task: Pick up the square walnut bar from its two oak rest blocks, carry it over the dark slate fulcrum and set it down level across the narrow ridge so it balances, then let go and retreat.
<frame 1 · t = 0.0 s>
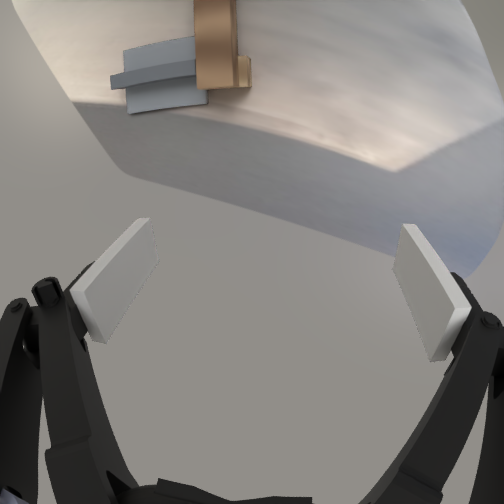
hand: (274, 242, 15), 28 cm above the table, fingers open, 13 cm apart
rest 2: (228, 74, 35), on the table
fulcrum: (165, 74, 36), on the table
walnut bar: (219, 7, 27), point 4 cm above the table, touching rest 2, rest 1
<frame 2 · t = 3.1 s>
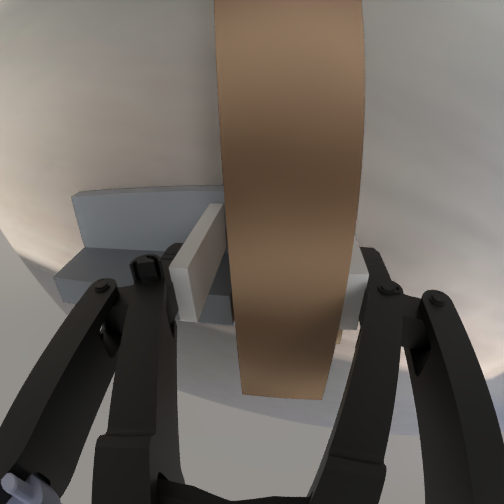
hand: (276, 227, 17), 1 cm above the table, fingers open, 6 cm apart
fulcrum: (161, 256, 21), on the table
walnut bar: (294, 146, 12), point 4 cm above the table, touching gripper, rest 2, rest 1
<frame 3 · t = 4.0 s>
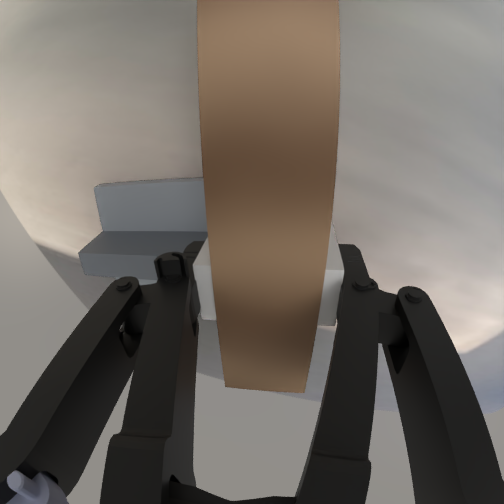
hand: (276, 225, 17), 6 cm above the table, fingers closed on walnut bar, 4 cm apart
fulcrum: (169, 237, 25), on the table
walnut bar: (275, 142, 12), point 9 cm above the table, touching gripper
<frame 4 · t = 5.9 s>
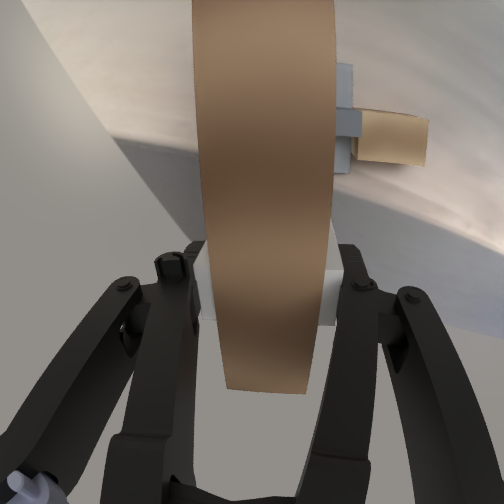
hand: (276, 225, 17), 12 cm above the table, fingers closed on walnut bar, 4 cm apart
rest 2: (380, 131, 24), on the table
fulcrum: (283, 115, 25), on the table
walnut bar: (273, 144, 12), point 15 cm above the table, touching gripper
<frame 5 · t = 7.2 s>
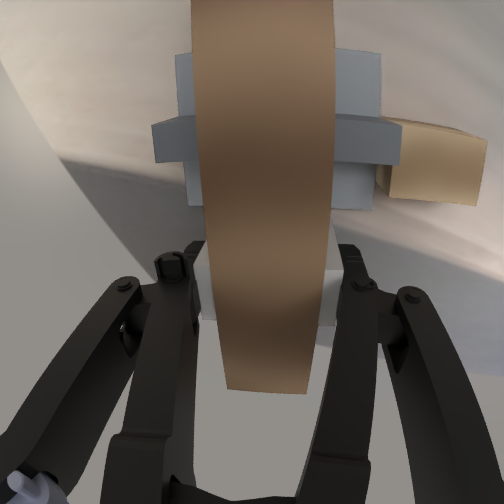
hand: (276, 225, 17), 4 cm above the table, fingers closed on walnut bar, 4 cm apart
rest 2: (416, 151, 17), on the table
fulcrum: (279, 125, 17), on the table
walnut bar: (273, 144, 12), point 6 cm above the table, touching gripper
when the fingers open (2 cm above the table, at t = 7.8 s): walnut bar stays where it is, resting on fulcrum.
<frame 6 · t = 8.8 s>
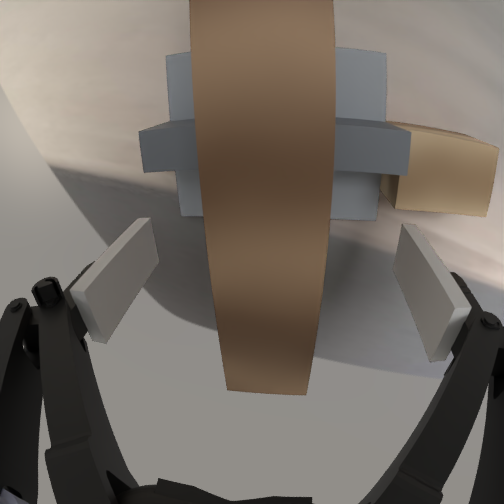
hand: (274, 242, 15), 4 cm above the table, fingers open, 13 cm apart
rest 2: (422, 157, 16), on the table
fulcrum: (277, 130, 16), on the table
walnut bar: (272, 145, 12), point 5 cm above the table, touching fulcrum
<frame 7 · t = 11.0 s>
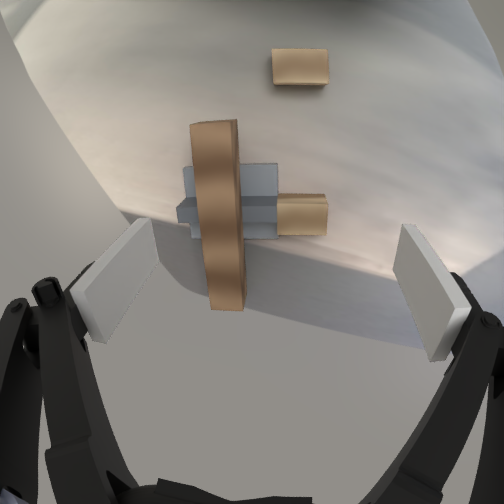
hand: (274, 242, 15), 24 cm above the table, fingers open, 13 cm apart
rest 2: (301, 208, 39), on the table
fulcrum: (232, 201, 40), on the table
walnut bar: (225, 214, 36), point 5 cm above the table, touching fulcrum
rest 1: (299, 69, 31), on the table
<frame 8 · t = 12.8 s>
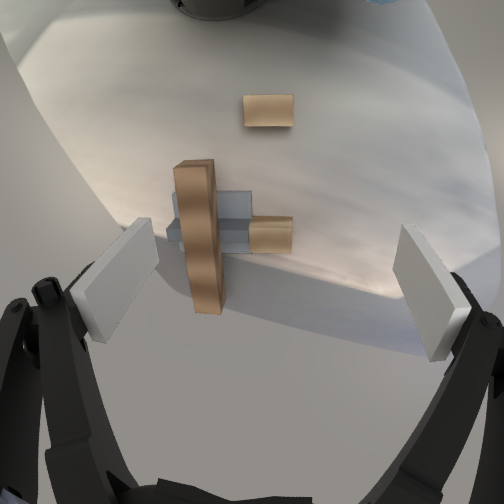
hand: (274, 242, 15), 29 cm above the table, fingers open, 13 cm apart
rest 2: (272, 228, 47), on the table
fulcrum: (214, 221, 47), on the table
walnut bar: (206, 236, 43), point 5 cm above the table, touching fulcrum
rest 1: (270, 108, 38), on the table
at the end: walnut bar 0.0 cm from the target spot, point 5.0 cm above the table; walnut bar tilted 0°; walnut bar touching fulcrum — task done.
